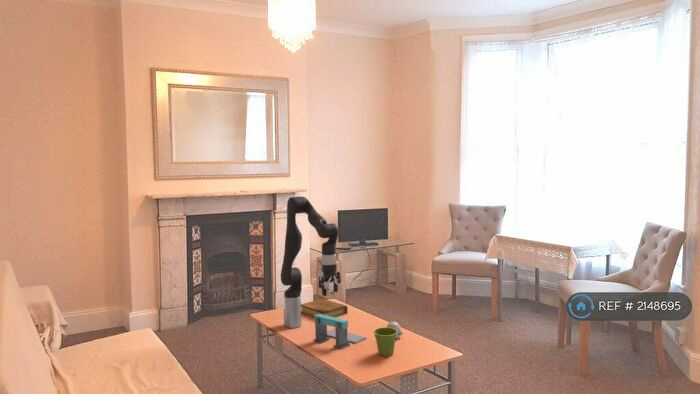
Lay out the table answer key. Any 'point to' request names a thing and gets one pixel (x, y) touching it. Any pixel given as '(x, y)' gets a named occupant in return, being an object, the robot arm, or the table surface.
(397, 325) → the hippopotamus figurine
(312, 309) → the diary
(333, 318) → the rail bar
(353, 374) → the table surface
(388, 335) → the plant pot
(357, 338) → the rubber mat
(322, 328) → the bracket stand
